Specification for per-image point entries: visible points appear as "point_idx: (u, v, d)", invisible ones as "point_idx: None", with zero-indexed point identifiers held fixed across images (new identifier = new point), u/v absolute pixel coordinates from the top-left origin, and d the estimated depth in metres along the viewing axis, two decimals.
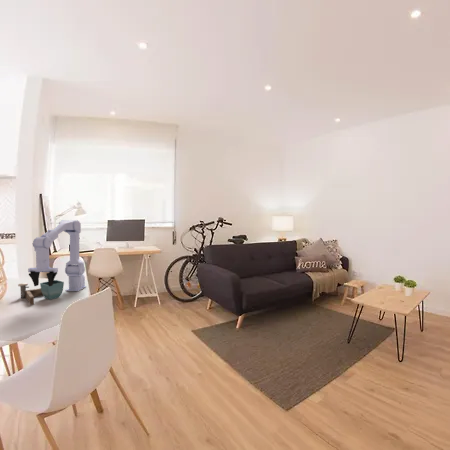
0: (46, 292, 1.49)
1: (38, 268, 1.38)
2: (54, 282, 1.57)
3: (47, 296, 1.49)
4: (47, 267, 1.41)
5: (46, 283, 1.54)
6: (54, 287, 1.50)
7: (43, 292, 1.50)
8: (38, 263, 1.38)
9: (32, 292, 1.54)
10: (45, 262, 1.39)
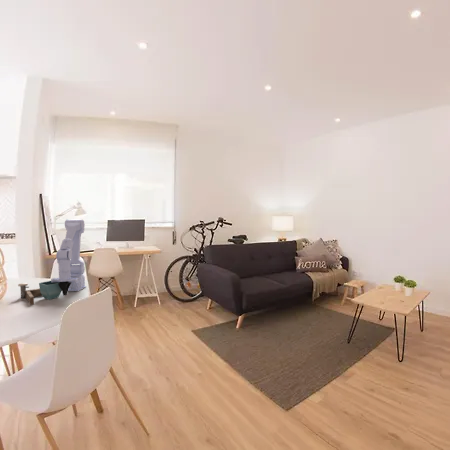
0: (45, 292, 1.49)
1: (61, 279, 1.49)
2: (53, 282, 1.57)
3: (46, 296, 1.49)
4: (69, 277, 1.52)
5: (45, 283, 1.54)
6: (53, 286, 1.50)
7: (42, 292, 1.50)
8: (61, 274, 1.49)
9: (32, 292, 1.54)
10: (67, 273, 1.51)
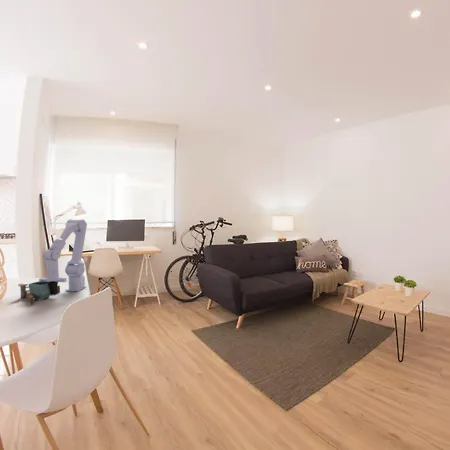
0: (37, 293, 1.48)
1: (48, 278, 1.50)
2: (41, 283, 1.56)
3: (38, 296, 1.49)
4: (57, 277, 1.53)
5: (34, 284, 1.52)
6: (46, 286, 1.50)
7: (33, 293, 1.49)
8: (48, 274, 1.50)
9: None
10: (55, 273, 1.51)
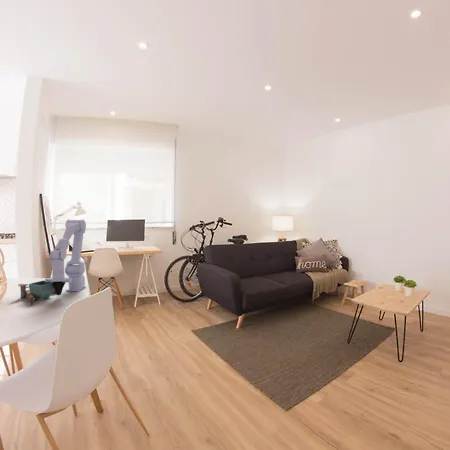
0: (37, 293, 1.48)
1: (54, 279, 1.50)
2: (41, 283, 1.56)
3: (38, 296, 1.49)
4: (63, 277, 1.52)
5: (34, 284, 1.52)
6: (46, 286, 1.50)
7: (33, 293, 1.49)
8: (54, 274, 1.49)
9: None
10: (60, 273, 1.51)
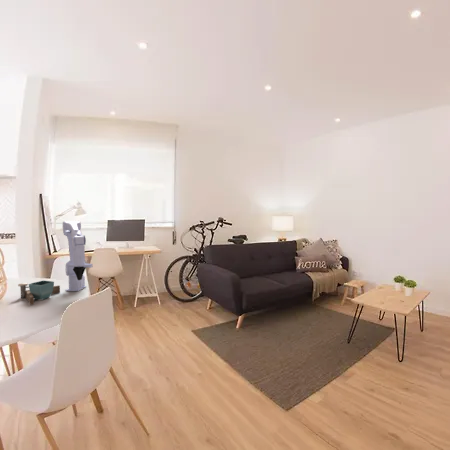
0: (37, 293, 1.48)
1: (75, 264, 1.54)
2: (41, 283, 1.56)
3: (38, 296, 1.49)
4: (83, 263, 1.56)
5: (34, 284, 1.52)
6: (46, 286, 1.50)
7: (33, 293, 1.49)
8: (75, 259, 1.54)
9: None
10: (81, 258, 1.55)
